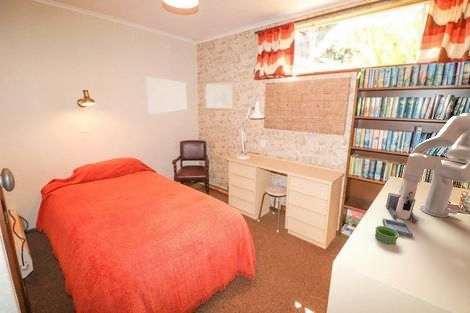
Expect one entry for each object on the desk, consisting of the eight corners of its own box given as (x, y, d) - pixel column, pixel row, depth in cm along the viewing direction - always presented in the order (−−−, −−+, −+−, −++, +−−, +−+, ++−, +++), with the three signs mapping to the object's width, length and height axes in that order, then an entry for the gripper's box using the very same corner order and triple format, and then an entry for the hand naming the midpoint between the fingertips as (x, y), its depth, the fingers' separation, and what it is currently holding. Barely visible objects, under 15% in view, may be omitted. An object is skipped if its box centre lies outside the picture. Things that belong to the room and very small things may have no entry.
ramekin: (369, 236, 106) (371, 227, 105) (382, 232, 110) (383, 224, 108) (388, 247, 98) (390, 238, 97) (401, 243, 102) (403, 234, 101)
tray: (406, 226, 115) (407, 223, 115) (412, 237, 106) (413, 234, 105) (382, 221, 119) (383, 218, 119) (386, 231, 110) (387, 228, 109)
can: (411, 220, 122) (417, 200, 119) (398, 218, 123) (403, 198, 120) (405, 214, 128) (410, 195, 125) (392, 213, 129) (397, 194, 126)
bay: (409, 210, 133) (413, 196, 131) (418, 223, 119) (422, 208, 116) (385, 206, 138) (388, 192, 135) (391, 218, 123) (394, 203, 121)
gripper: (399, 172, 129) (392, 199, 133) (408, 180, 113) (399, 211, 117) (415, 174, 126) (407, 202, 130) (426, 183, 110) (416, 215, 115)
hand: (403, 206), depth 124 cm, fingers open, 9 cm apart
